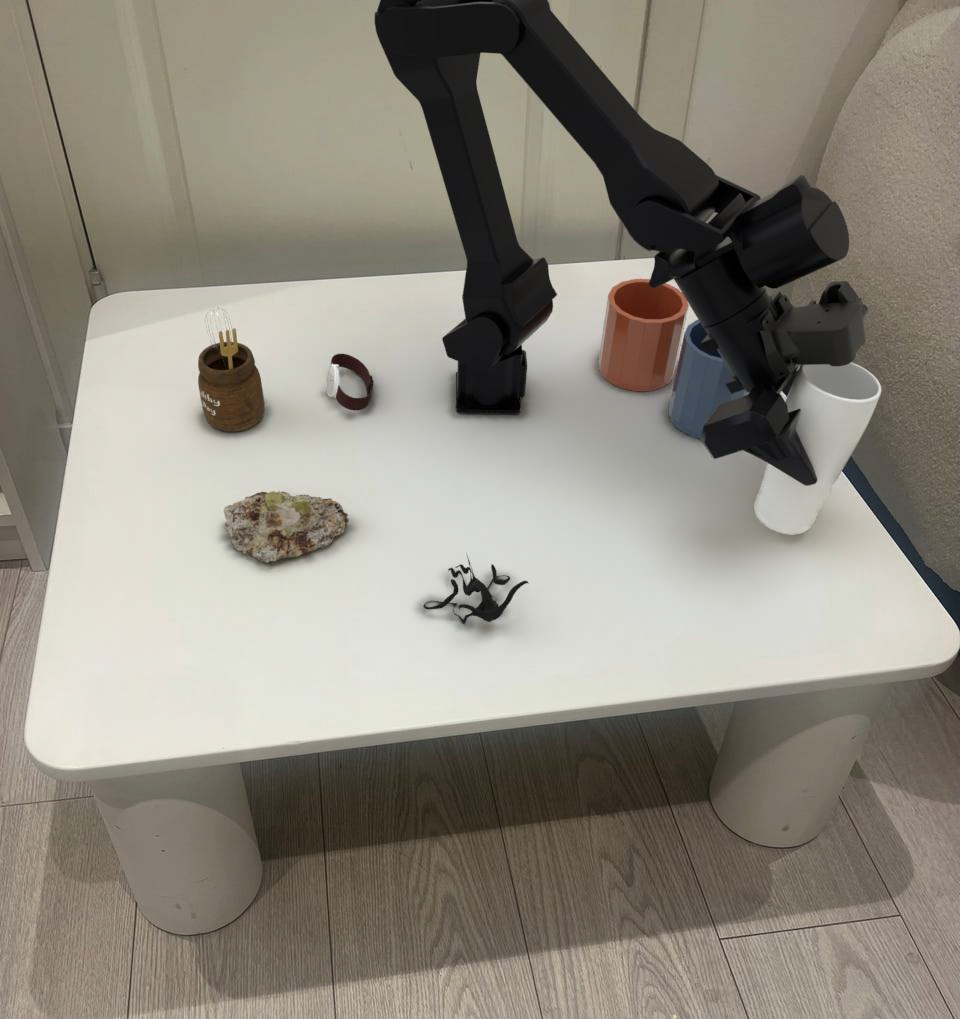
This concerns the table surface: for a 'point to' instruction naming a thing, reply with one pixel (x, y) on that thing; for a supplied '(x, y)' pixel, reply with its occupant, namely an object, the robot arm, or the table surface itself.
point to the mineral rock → (283, 524)
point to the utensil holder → (229, 384)
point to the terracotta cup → (642, 335)
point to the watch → (333, 381)
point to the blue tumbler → (698, 384)
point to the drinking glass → (818, 441)
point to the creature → (487, 606)
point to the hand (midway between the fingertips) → (825, 461)
